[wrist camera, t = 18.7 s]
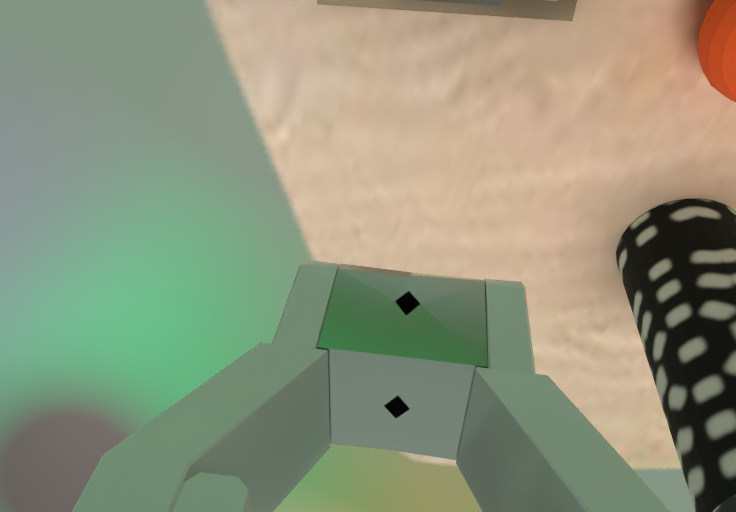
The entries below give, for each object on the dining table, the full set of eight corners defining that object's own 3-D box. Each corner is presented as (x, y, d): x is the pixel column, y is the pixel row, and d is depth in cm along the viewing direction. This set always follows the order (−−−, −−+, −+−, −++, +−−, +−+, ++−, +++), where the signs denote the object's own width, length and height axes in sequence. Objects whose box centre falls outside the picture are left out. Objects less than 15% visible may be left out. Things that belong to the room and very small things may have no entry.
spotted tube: (692, 175, 38) (850, 447, 22) (774, 243, 40) (970, 533, 25) (590, 254, 43) (662, 523, 27) (669, 311, 45) (777, 590, 29)
